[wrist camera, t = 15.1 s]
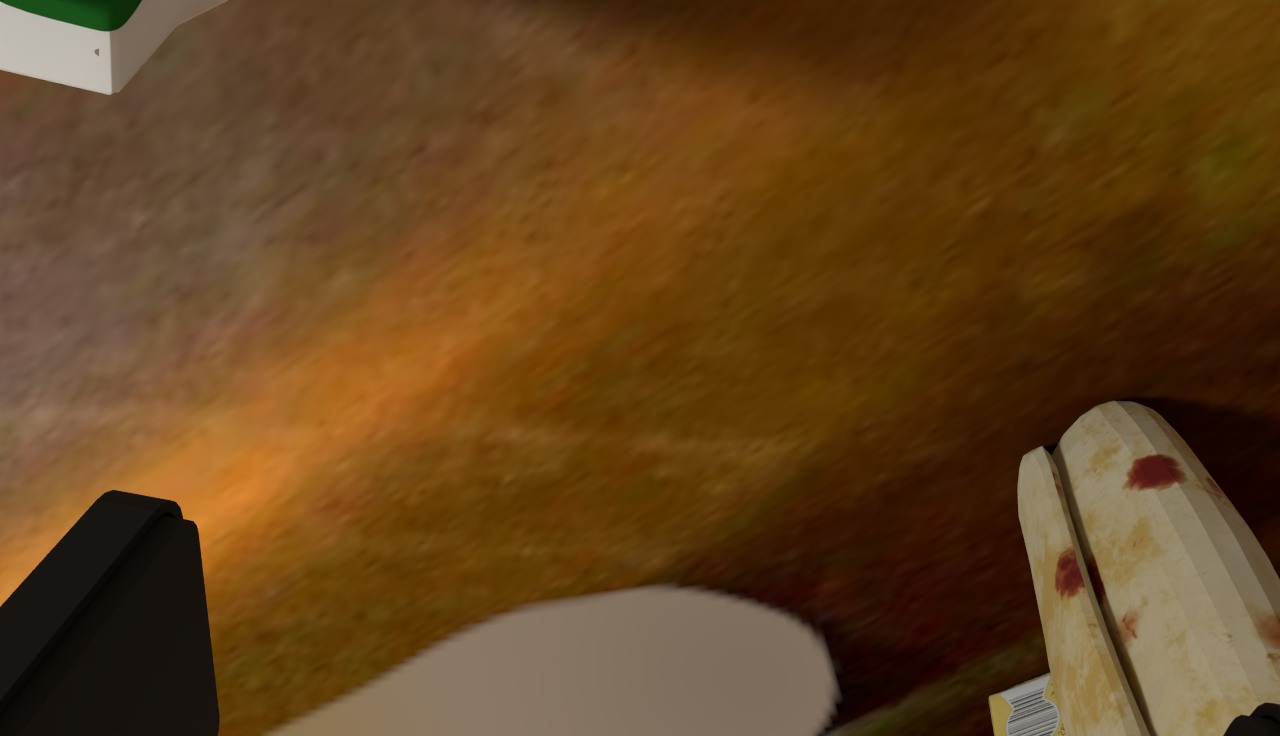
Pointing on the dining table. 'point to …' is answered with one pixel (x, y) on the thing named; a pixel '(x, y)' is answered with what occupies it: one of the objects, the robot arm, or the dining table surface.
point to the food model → (1146, 582)
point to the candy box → (1027, 710)
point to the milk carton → (88, 38)
